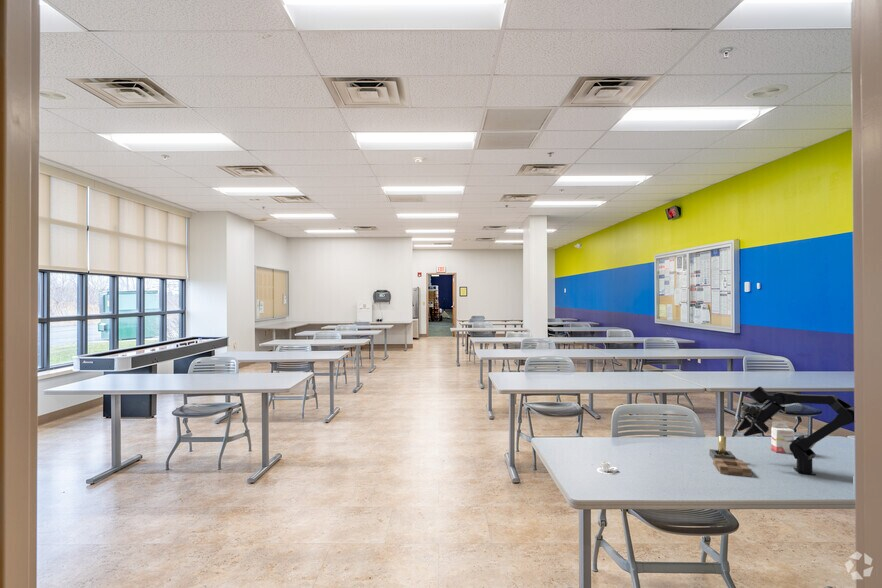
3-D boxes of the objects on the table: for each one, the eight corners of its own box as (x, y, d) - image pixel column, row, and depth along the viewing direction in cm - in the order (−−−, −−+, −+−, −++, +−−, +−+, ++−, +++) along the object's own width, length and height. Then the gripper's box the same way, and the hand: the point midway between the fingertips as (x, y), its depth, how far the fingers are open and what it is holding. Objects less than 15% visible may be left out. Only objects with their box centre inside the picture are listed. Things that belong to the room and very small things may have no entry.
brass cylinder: (726, 460, 229) (726, 437, 229) (719, 459, 230) (719, 437, 230) (724, 458, 232) (725, 435, 232) (717, 457, 233) (717, 435, 233)
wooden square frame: (751, 476, 209) (751, 469, 209) (720, 473, 213) (720, 466, 213) (742, 466, 221) (742, 460, 221) (713, 464, 224) (713, 457, 224)
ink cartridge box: (776, 452, 241) (776, 423, 241) (770, 449, 246) (770, 421, 246) (794, 453, 240) (794, 424, 240) (788, 450, 245) (788, 421, 245)
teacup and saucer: (618, 471, 216) (618, 462, 216) (615, 476, 209) (615, 467, 209) (599, 467, 221) (599, 458, 221) (595, 472, 214) (595, 463, 214)
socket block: (735, 463, 225) (735, 456, 225) (714, 461, 228) (714, 455, 228) (729, 457, 234) (729, 450, 234) (709, 455, 237) (709, 449, 237)
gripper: (747, 395, 236) (722, 415, 239) (760, 403, 218) (733, 425, 222) (765, 411, 234) (740, 432, 237) (780, 421, 216) (752, 443, 219)
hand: (741, 432), depth 229 cm, fingers open, 9 cm apart
